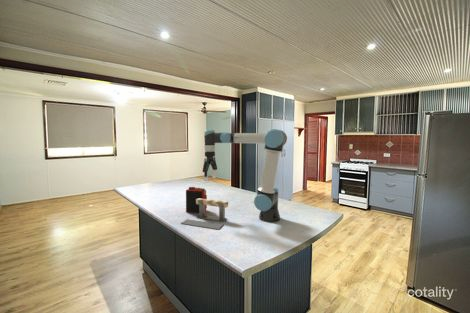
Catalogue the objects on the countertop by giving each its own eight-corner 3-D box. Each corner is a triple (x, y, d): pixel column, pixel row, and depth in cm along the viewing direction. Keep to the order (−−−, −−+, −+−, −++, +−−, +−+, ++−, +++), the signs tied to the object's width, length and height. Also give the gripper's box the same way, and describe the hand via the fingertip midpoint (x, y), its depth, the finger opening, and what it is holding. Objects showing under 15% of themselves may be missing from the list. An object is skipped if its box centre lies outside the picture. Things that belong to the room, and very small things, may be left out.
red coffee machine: (207, 210, 185) (208, 186, 183) (202, 214, 175) (202, 188, 174) (190, 208, 189) (190, 184, 188) (184, 212, 179) (184, 187, 178)
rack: (226, 219, 164) (226, 201, 164) (223, 222, 159) (223, 203, 158) (200, 215, 172) (201, 198, 171) (197, 218, 166) (197, 200, 165)
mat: (223, 225, 152) (223, 224, 152) (218, 229, 145) (218, 228, 145) (187, 220, 162) (187, 219, 162) (180, 223, 154) (180, 223, 154)
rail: (228, 206, 162) (228, 201, 162) (226, 207, 159) (226, 202, 159) (198, 202, 170) (198, 198, 170) (196, 204, 167) (196, 199, 167)
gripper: (212, 150, 181) (212, 176, 183) (197, 151, 158) (197, 182, 159) (220, 150, 179) (221, 177, 180) (207, 151, 155) (207, 182, 157)
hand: (210, 179), depth 170 cm, fingers open, 13 cm apart
